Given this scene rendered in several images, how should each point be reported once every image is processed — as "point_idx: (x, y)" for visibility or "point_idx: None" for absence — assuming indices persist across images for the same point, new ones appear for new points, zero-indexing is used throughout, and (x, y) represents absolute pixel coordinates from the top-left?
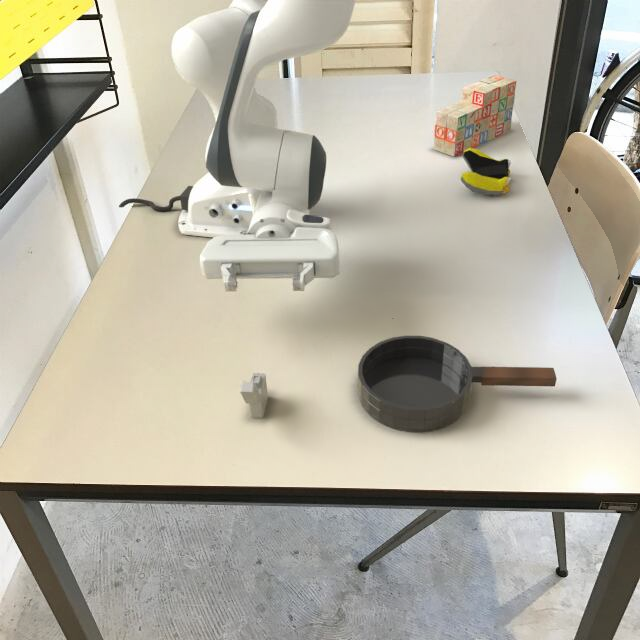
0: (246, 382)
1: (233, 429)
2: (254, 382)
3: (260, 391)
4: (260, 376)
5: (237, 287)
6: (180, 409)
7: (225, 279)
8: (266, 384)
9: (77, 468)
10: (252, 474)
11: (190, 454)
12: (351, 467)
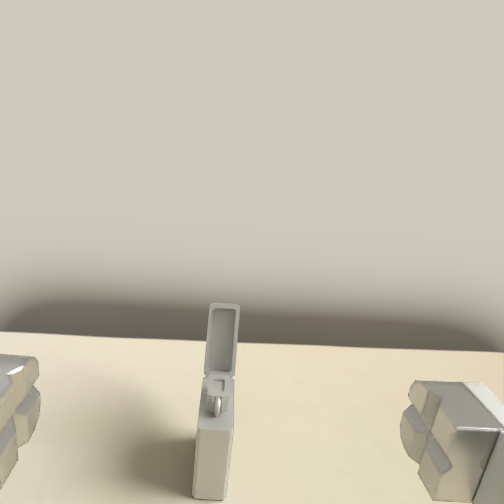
0: (228, 304)
1: (256, 415)
2: (211, 304)
3: (203, 382)
4: (207, 391)
5: (421, 477)
6: (394, 460)
7: (489, 391)
8: (195, 455)
9: (461, 363)
10: (203, 350)
11: (312, 376)
12: (40, 353)
